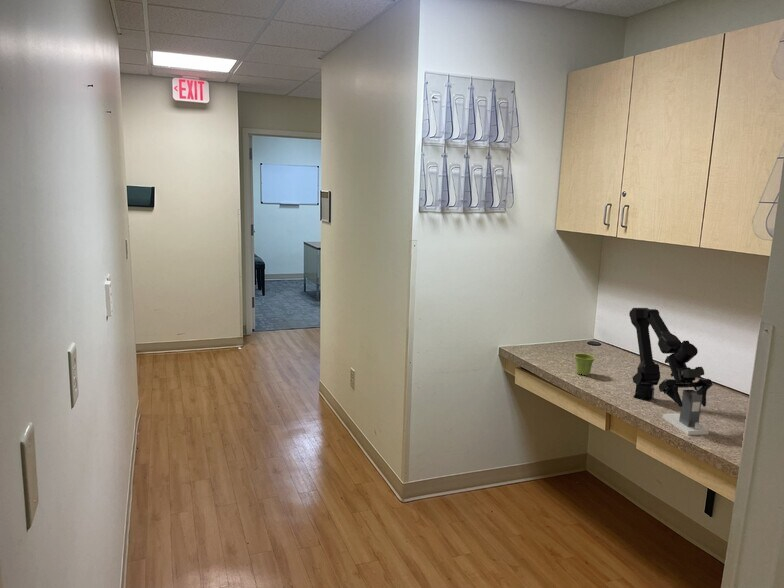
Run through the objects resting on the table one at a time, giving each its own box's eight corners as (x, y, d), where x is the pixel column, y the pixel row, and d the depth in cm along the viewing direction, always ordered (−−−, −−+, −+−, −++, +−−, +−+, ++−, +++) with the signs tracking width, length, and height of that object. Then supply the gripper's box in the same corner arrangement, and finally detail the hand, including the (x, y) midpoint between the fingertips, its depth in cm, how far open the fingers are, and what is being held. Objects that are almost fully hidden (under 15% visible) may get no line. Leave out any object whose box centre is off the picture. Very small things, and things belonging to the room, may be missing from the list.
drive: (679, 421, 218) (683, 389, 215) (688, 420, 218) (693, 389, 216) (688, 427, 212) (692, 395, 210) (698, 427, 213) (702, 395, 210)
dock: (662, 417, 225) (663, 407, 224) (681, 416, 226) (682, 407, 225) (687, 434, 209) (689, 424, 208) (708, 434, 210) (709, 424, 209)
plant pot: (585, 370, 281) (587, 353, 279) (597, 376, 272) (599, 358, 271) (568, 371, 279) (570, 353, 277) (579, 377, 270) (581, 359, 268)
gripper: (666, 358, 213) (681, 398, 205) (713, 358, 216) (729, 397, 207) (652, 372, 223) (665, 410, 214) (697, 371, 225) (712, 409, 216)
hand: (693, 406), depth 212 cm, fingers open, 9 cm apart
